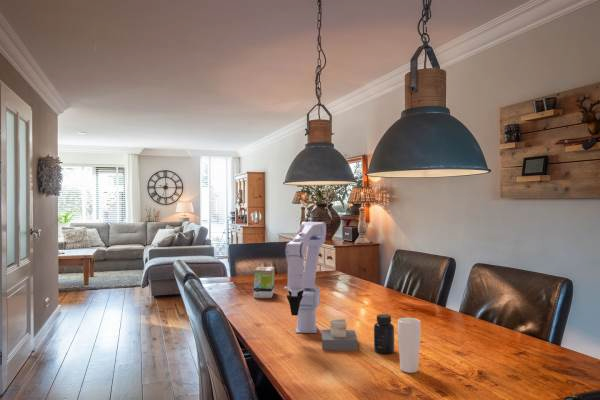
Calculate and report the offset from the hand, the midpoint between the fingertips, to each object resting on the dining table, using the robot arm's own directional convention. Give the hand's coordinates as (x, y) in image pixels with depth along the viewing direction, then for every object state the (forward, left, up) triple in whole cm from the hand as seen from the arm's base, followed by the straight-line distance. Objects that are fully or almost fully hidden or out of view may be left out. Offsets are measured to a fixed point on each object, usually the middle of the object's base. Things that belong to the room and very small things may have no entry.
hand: (295, 312), depth 161 cm
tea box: (-80, -21, -11) cm, 84 cm away
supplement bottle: (+9, +31, -11) cm, 34 cm away
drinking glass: (+26, +36, -11) cm, 45 cm away
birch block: (+3, +15, -7) cm, 17 cm away
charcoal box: (+2, +16, -11) cm, 19 cm away
